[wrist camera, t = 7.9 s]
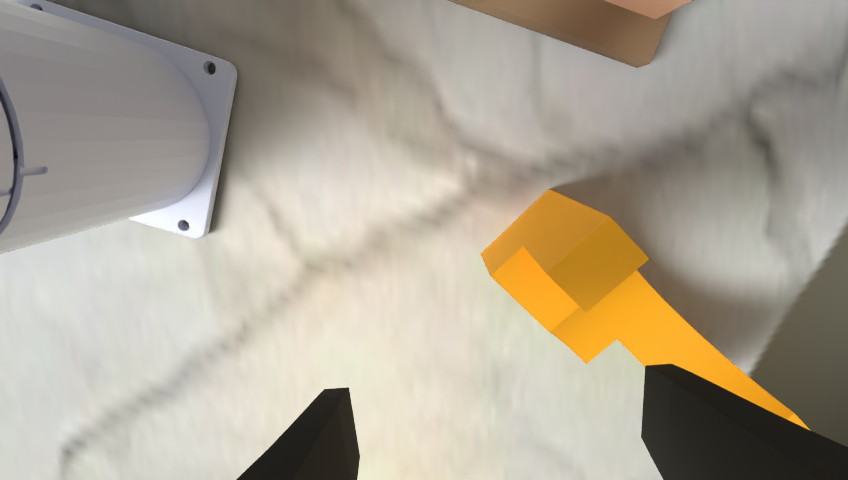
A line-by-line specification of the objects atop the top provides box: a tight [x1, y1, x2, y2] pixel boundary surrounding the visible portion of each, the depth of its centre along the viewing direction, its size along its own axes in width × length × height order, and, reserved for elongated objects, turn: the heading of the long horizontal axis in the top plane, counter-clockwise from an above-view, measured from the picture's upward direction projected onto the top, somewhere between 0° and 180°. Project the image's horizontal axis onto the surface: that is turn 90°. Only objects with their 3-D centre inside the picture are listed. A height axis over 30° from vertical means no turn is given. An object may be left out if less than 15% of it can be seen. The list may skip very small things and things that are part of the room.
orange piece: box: [481, 189, 809, 430], centre depth 17 cm, size 12×4×6 cm, turn 46°
